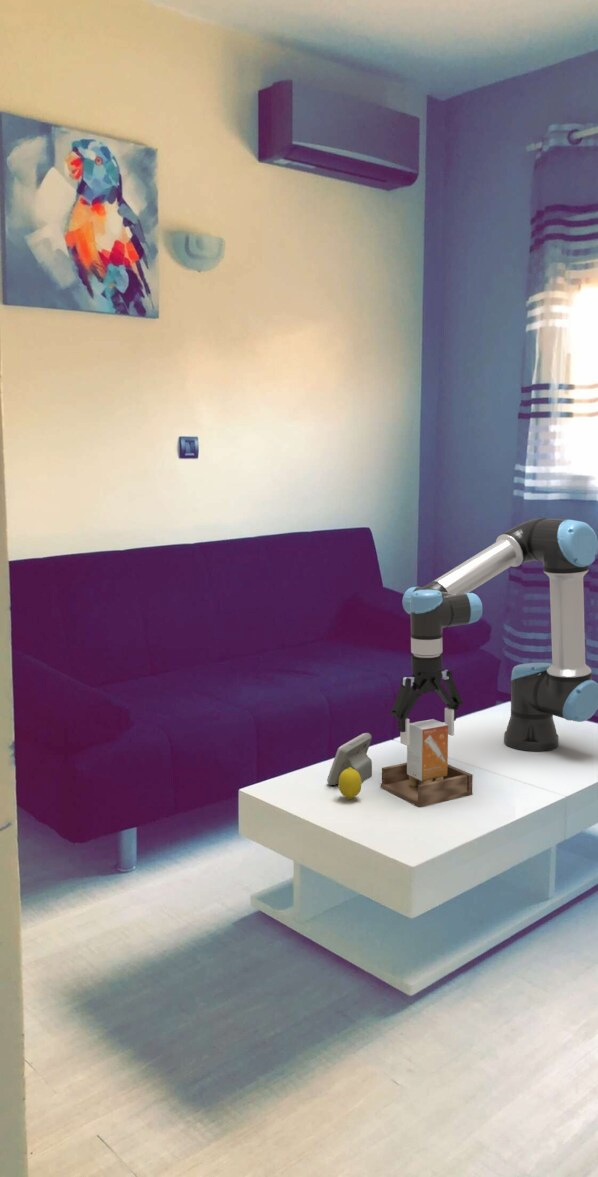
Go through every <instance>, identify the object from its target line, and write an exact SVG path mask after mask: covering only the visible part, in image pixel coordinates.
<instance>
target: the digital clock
mask: <svg viewBox="0 0 598 1177" xmlns="http://www.w3.org/2000/svg"><path fill="white" fill-rule="evenodd" d="M372 740H373V739H372V734H371V733H369V732H365V733H364V732H363V733H361V734H359V735H358V736H356V737H354V738H353V739H351V740H349V741H347V742H346V743H344V744H342V745H341V746H339V747H338V748H337V751H336V753H335V755H334V756H335V757H334V759H333V762H332V765H331V767H330V771H329V773H328V776H327V780H326V781H327V783H328V786H331V785H334V786H337V785H339V777H340V774H341V773H342V772H343V771H344V770H345V769H348V768H349V767H351V768H352V769H354V770H356V771H357V772H358V773H359V774H360V777H361V783H363V782H364V781H366V780H368V779H370V778H371V777H372V776H373V762H372V759H371V758H370V757H369V756H368V754H367V752H368V751H369V747H370V745H371V742H372ZM336 784H337V785H336Z"/></svg>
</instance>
